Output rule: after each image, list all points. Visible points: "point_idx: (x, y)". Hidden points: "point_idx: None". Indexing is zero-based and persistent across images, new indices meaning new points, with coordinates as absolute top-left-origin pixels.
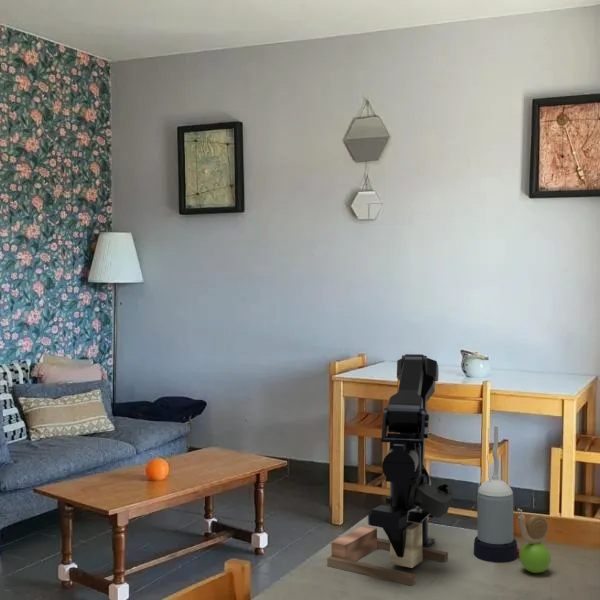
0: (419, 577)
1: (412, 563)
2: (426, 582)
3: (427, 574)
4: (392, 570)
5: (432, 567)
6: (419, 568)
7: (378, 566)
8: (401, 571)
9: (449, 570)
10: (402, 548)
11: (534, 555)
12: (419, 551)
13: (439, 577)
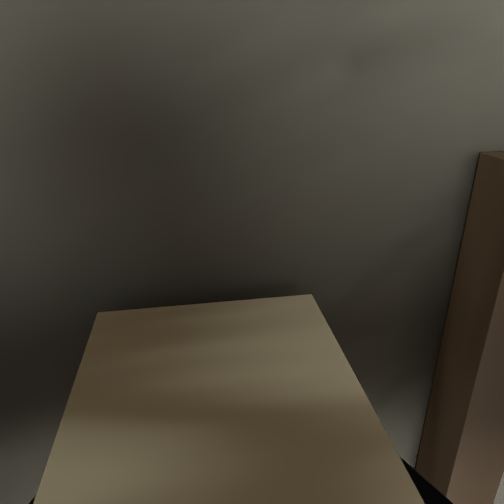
0: (353, 185)
1: (306, 314)
2: (431, 81)
3: (258, 162)
4: (501, 354)
5: (80, 206)
6: (175, 278)
7: (463, 453)
8: (502, 295)
9: (29, 25)
10: (425, 483)
11: None
12: (153, 374)
13: (266, 30)
